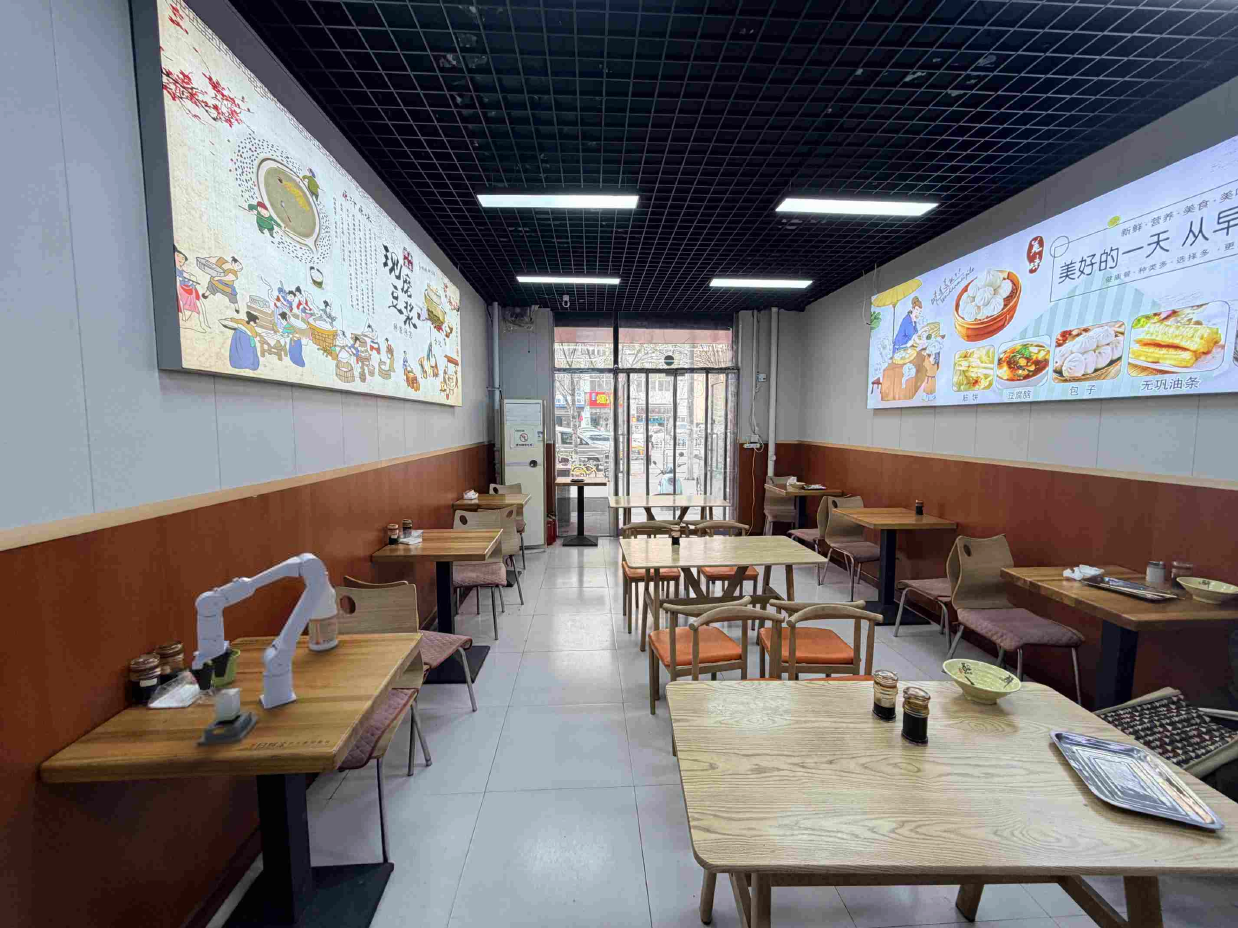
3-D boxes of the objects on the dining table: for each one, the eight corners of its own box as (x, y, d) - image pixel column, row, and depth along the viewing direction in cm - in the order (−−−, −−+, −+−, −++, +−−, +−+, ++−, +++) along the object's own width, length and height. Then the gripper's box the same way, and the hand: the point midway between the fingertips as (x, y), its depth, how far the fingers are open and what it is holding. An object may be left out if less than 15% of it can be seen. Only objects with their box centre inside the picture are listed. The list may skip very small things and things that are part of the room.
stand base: (218, 724, 142) (217, 712, 141) (258, 719, 144) (258, 707, 144) (196, 746, 132) (196, 732, 132) (241, 740, 134) (240, 727, 134)
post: (223, 712, 139) (222, 689, 139) (240, 710, 140) (239, 687, 140) (215, 721, 135) (214, 697, 135) (233, 719, 136) (231, 695, 136)
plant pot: (198, 690, 161) (196, 663, 160) (215, 676, 170) (214, 650, 170) (231, 687, 163) (230, 660, 162) (247, 673, 172) (245, 648, 171)
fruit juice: (303, 651, 189) (300, 576, 188) (319, 640, 199) (316, 569, 197) (329, 651, 189) (326, 576, 187) (343, 640, 199) (340, 569, 197)
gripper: (209, 627, 149) (210, 672, 150) (178, 647, 135) (180, 697, 136) (236, 625, 151) (238, 670, 152) (208, 644, 137) (210, 694, 137)
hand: (212, 683), depth 144 cm, fingers open, 7 cm apart
